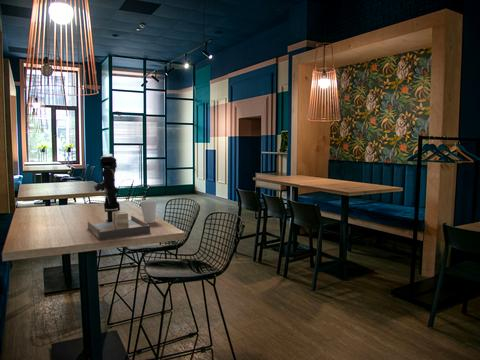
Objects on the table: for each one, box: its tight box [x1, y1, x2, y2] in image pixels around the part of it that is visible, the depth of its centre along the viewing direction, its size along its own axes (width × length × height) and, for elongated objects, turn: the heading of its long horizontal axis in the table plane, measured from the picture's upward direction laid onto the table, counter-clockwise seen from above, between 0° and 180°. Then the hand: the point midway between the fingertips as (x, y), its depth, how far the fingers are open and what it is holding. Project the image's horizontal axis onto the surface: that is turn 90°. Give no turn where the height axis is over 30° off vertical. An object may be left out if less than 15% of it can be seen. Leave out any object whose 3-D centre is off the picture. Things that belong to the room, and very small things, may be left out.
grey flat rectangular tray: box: [87, 215, 151, 241], centre depth 219 cm, size 33×26×4 cm
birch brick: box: [112, 210, 129, 230], centre depth 213 cm, size 10×6×9 cm, turn 31°
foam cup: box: [140, 199, 158, 224], centre depth 240 cm, size 10×9×13 cm
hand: (110, 203), depth 231 cm, fingers closed
